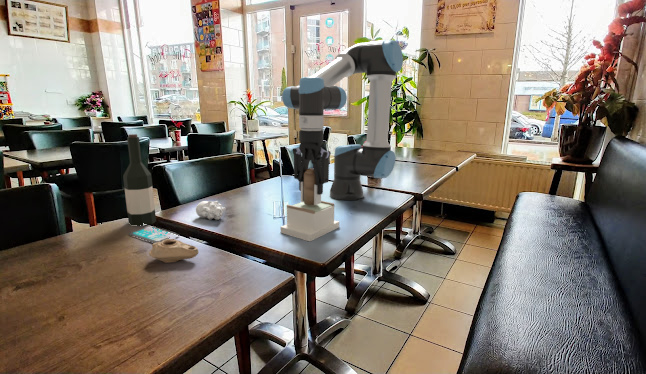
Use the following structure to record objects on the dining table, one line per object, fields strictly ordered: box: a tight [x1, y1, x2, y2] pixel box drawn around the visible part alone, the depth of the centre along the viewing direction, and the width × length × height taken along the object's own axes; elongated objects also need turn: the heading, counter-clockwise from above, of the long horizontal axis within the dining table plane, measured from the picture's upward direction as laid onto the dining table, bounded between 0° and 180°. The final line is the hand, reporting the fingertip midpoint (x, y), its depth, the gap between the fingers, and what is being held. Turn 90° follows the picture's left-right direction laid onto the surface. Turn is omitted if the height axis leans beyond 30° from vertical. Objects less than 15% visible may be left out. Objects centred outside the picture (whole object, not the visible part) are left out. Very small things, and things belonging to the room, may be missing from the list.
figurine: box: [195, 200, 227, 221], centre depth 124 cm, size 7×7×12 cm
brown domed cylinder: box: [304, 167, 316, 205], centre depth 111 cm, size 5×5×11 cm
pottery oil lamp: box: [148, 239, 199, 264], centre depth 91 cm, size 9×12×7 cm
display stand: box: [280, 200, 340, 242], centre depth 113 cm, size 16×12×9 cm
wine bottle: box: [122, 133, 157, 227], centre depth 116 cm, size 8×8×30 cm
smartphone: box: [128, 226, 181, 243], centre depth 108 cm, size 9×1×15 cm
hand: (310, 202), depth 112 cm, fingers closed on brown domed cylinder, 5 cm apart
